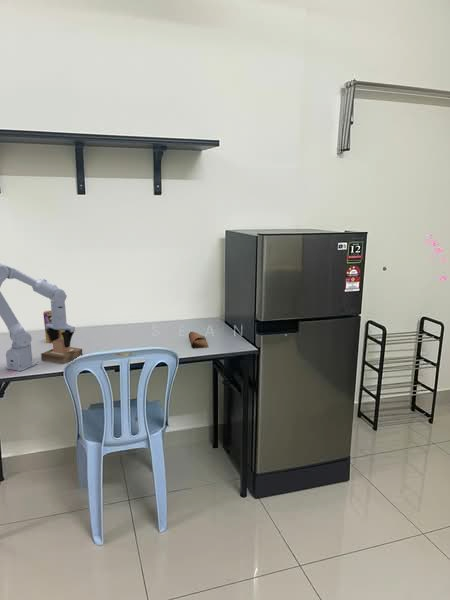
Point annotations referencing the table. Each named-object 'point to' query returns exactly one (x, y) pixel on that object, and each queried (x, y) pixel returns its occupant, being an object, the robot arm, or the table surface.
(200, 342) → the sunglasses case
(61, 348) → the cube
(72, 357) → the plinth
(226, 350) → the table surface
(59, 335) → the candy box
